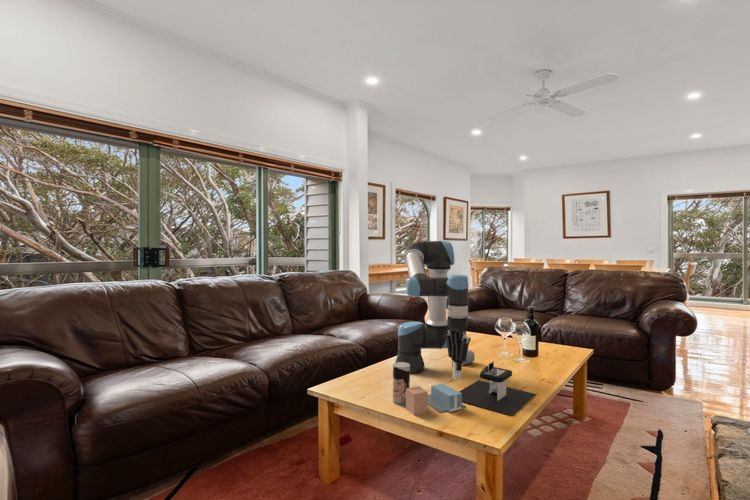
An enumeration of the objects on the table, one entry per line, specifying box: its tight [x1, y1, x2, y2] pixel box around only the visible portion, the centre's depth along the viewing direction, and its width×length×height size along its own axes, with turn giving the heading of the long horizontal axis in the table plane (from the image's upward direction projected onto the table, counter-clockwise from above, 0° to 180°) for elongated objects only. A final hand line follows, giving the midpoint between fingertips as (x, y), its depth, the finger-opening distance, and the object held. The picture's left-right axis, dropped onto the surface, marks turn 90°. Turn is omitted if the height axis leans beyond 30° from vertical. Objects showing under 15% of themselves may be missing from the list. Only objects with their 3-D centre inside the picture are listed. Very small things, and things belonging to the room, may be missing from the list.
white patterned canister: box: [392, 362, 411, 406], centre depth 162 cm, size 7×7×15 cm
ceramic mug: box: [462, 349, 476, 366], centre depth 214 cm, size 11×8×8 cm
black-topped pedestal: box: [458, 360, 537, 416], centre depth 168 cm, size 28×26×13 cm
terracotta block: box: [405, 386, 429, 416], centre depth 154 cm, size 6×6×8 cm
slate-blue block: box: [430, 383, 463, 413], centre depth 158 cm, size 6×6×12 cm
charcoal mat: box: [428, 393, 467, 414], centre depth 162 cm, size 16×12×1 cm
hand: (456, 378), depth 152 cm, fingers closed
